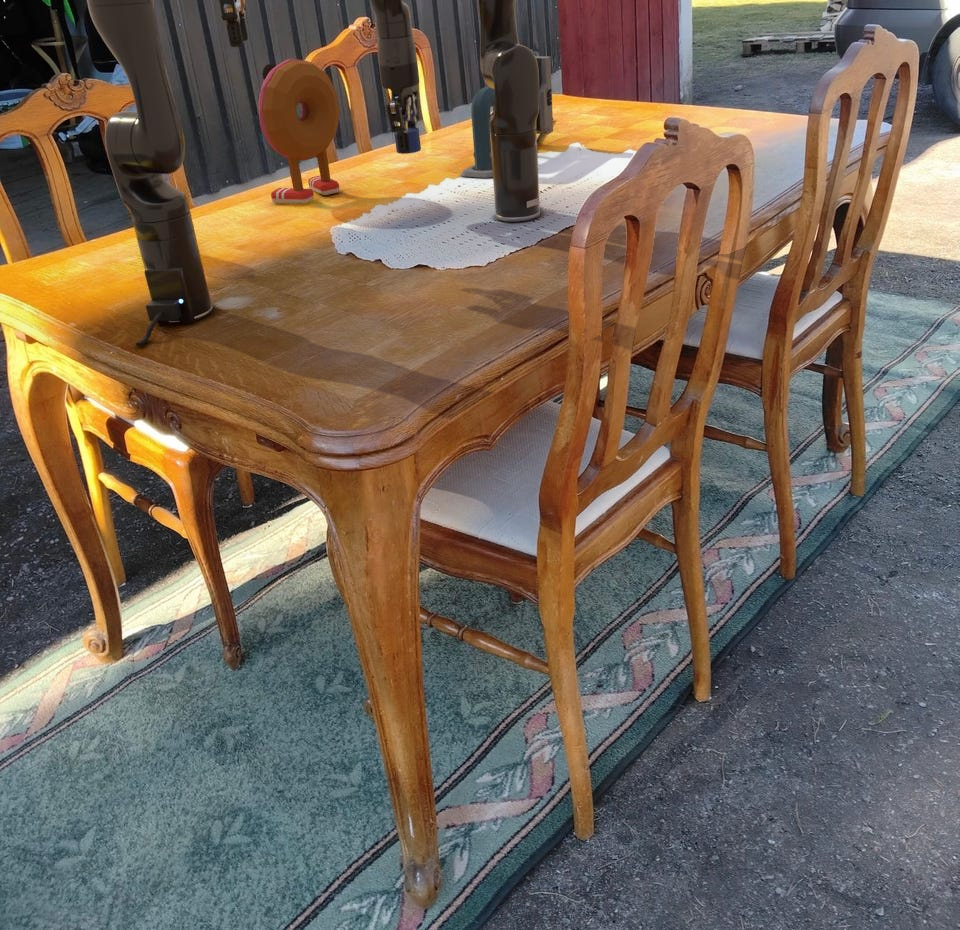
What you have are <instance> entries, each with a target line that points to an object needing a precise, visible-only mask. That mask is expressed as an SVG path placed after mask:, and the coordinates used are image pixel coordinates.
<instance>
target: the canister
mask: <svg viewBox="0 0 960 930" xmlns="http://www.w3.org/2000/svg"><path fill="white" fill-rule="evenodd" d="M393 136H394V143H395V149H396V150H395V151H396V153H397V154H401V155H407V154H414V153H418V152H420V151H422V146H421V145H422V144H421V137H420V128H419V127H417V126H416V127H408V137H409V145H410V151H409V152H404V153H401V152H399V148H398V140H397V134H395V133H393Z"/></svg>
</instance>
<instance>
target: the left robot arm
mask: <svg viewBox="0 0 960 930" xmlns="http://www.w3.org/2000/svg"><path fill="white" fill-rule="evenodd" d="M154 1H155V0H86V3H87V8H88V12H89V15H90V18H91V21H92V23H93V25H94V27H95V29H96V31H97V33H98V34H99V35H100V37H101V39H102V41H103V42H104V44H105V45H106V46H107V48H108V49H109V51H110V52H111V54H112V55H113V56H114V58H115V59H116V61H117V62H118V64H119V66H120V67H121V68H122V71H123V72H124V74H125V76H126V78H127V81H128V83H129V86H130V89H131V93H132V96H133V100H134V101H133V102H134V105H135V110H122V111H118V112H115V113H114V114H112V115H111V117H109V119H108V121H107V123H106V126H105V130H104V144H105V150H106V155H107V159H108V162H109V165H110V168H111V171H112V175H113V178H114V181H115V185H116V187H117V190H118V193H119V196H120V199H121V201H122V203H123V204H124V206H125V207H126V208H127V210H128V212H129V214H130V218H131V221H132V225H133V229H134V233H135V237H136V240H137V245H138V248H139V253H140V256H141V260H142V264H143V267H144V271H143V272H144V276H145V280H146V283H147V284H146V285H147V288H148V293H149V297H150V301H149V302H148V303H147V304H145V309H146V313H147V316H148V320H149V322H150V323H149V325H148V328H147V329H146V332H145V335H144V337H143V338H142V339H140V340H138V341H137V342H136V343H135V345H136V346H137V347H142V346H143V345H145V344H147V342H148V341H149V339H150V338H151V335H152V332H153V329H154V328H155V326H156V325H188V324H189V325H192V324H194V323H195V322H196V321H199V320H201V319H203V318H206V317H207V316H209V315H211V314H212V312H213V311H214V307H213V303H212V301H211V296H210V292H209V287H208V284H207V279H206V274H205V270H204V265H203V262H202V261H203V260H202V257H201V252H200V248H199V244H198V239H197V235H196V231H195V225H194V221H193V218H192V213H191V209H190V205H189V204H190V203H189V200H188V197H187V195H186V193H184V192H183V191H182V190H181V189H179V188H177V187H175V186H173V184H171V185H170V184H169V183H168V182H167V181H166V180H165V179H164V178H163V176H162V174H169V175H170V174H174V173H176V172H177V171H179V169H181V167H182V165H183V163H184V161H185V156H186V140H185V139H186V138H185V132H184V127H183V124H182V120H181V117H180V116H181V115H180V113H179V109H178V106H177V103H176V98H175V95H174V91H173V88H172V85H171V82H170V77H169V73H168V69H167V64H166V60H165V55H164V52H163V51H164V50H163V47H162V41H161V36H160V31H159V28H158V27H159V26H158V21H157V15H156V9H155V2H154ZM218 2H219V9H220V12H221V13H220V14H221V19H222V21H223V22H224V24H225V25H226V30H227V36H228V41H229V45H230V47H231V48H239V47H242V46H243V45H244V42H246V41H247V40H248V39H249V34H248V29H247V24H246V23H247V22H246V15H247V14H246V13H247V12H246V11H247V8H246V4H245V0H218Z"/></svg>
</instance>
